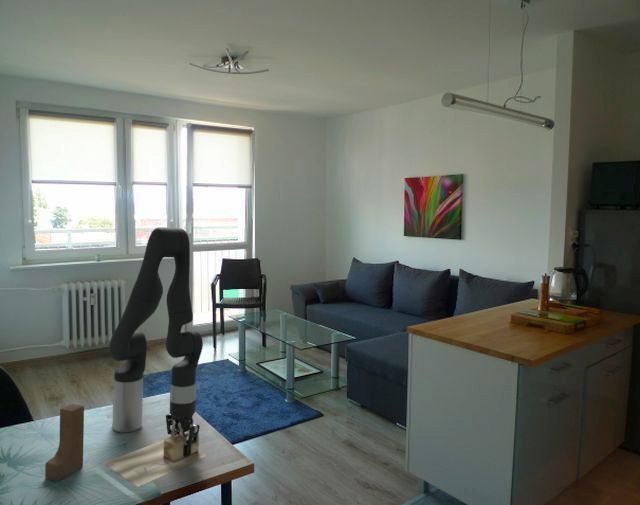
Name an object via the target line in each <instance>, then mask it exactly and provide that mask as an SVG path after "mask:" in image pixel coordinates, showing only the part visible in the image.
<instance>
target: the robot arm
mask: <svg viewBox="0 0 640 505" xmlns="http://www.w3.org/2000/svg"><path fill="white" fill-rule="evenodd" d="M190 246H191V245H190V237H189V235H188V233H187V231H186V230H184V229H183V228H180V227H178V228H177V227H164V226H163V227H161V226H160V227H155V228H154V229H153V230H152V231H151V233H150V235H149V237H148V240H147V244H146V248H145V252H144V256H143V260H142V262H141V265H140V269H139V273H138V275H137V277H136V280H135V283H134V285H133V287H132V291H131V292H130V296H129V298H128V301H127V304H126V306H125V309H124V311H123V313H122V316H121V318H120V320H119V322H118V324H117V326H116V328H115V330H114V332H113V334H112V336H111V338H110V341H109V345H108V352H109V356H110V358H111V359H112V360H114V361H117V362H123V361H126V362H124V363H123V364H122V365H121V366H119V367H118V368H117V369H115V371H114V374H113V377H114V380H113V399H112V427H113V428H112V430H113V431H115V430H116V431H115V432H117V431H118V432H117V433H131V432H135V431H137V430H140V429H141V428H142V426H143V407H144V406H143V402H144V400H143V398H144V397H143V396H144V393H143V392H144V373H145V370H146V364H147V362H146V360H147V348H148V347H147V346H148V343H147V338H146V335H145V333H144V332H143V331H142V330H137V329H138V328H139V327H140V326H142V325H143V324H144V323H145V322H146V321H147V320H148V319H150V317H152V315H153V314H155V312H156V310H157V309H158V307H159V305H160V302H161V300H162V297H163V293H164V289H163V288H164V287H163V283H162V280H161V278H160V275H159V274H160V273H159V269H160V266H161V262H162V260H163V259H164V258H173V259H174V264H175V270H174V274H173V276H172V277H173V278H172V280H171V282H170V285H169V288H168V290H167V294H166V308H167V314H168V325H167V326H168V327H167V334H166V340H165V341H166V342H165V347H166V352H167V353H168V355H169V356H171V357H172V358H173V359H174V358H175V359H177V358H182V357H183V359H182V360H181V361H178V362H177V363H175V364H173V366H172V367H171V381H170V382H171V385H170V391H169V392H170V394H169V413H168V414H165V422H166V431H167V432H166V433H167V435H170V437H172V436H175V435H177V434H180V433H181V437H182V438H183V441H184V449H183V456H184V457H187V456H189V455H190V454H191V444H193V443H196V442H197V438H198V435H199V432H200V428H201V427H200V425H199V424H195V423H194V419H193V416H194V414H195V413H196V406H197V403H196V402H197V401H196V400H197V385H196V384H197V382H196V378H197V377H196V376H197V368H198V364H199V360H200V358H201V354H202V351H203V348H204V347H203V345H204V342H203V341H204V340H203V337H202V335H201V334H200V333H199V332H198V331H195V330H192V331H190V330H189V331H185V332H182V329H183V326H186V325H188V324H190V323H192V322H193V319H194V314H193V308H192V300H191V292H190V265H191V264H190V263H191V262H190V260H191V259H190V255H191V254H190V251H191V250H190V249H191V248H190ZM187 431H189V432H188V433H184V432H187ZM187 436H188V437H189V438H188V440H187Z"/></svg>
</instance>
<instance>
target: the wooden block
mask: <svg viewBox="0 0 640 505" xmlns="http://www.w3.org/2000/svg"><path fill="white" fill-rule="evenodd" d="M84 423H85V406H84V405H80V404H76V403H70V404H68V405H66V406H63V407H61V408H60V409H59V443H58V448H57V451H56V452H55V454H54V456H53V457H52V458H50V459H49V460H47V461H46V462H45V469H44V470H45V474H44V475H45V479H47V480H51V481H54V482H59V481H61V480H62V479H65V477H67V476H69V475H70V474H72V473H74V472H76V471H77V470H79V469H81V468H82V467H83V466H84V439H85V438H84V437H85V436H84V435H85V434H84V433H85V430H84V429H85V428H84V427H85V424H84Z"/></svg>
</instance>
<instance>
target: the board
mask: <svg viewBox="0 0 640 505" xmlns="http://www.w3.org/2000/svg"><path fill="white" fill-rule="evenodd" d="M163 454H164V439H163V440H160V441H157V442H154V443H152V444H149V445H147V446H145V447H142V448H139V449H137V450H134V451H132V452H131V451H130V452H129V453H126V454H124V455H121V456H119V457H116V458H113V459H111V460H110V459H109V460H107V461H105V462H103V465H105V466H107V467H108V468H109V469H111V470H112V471H114V472H115V473H117V474H118V475H119V476H121V477H123V479H125V480H126V481H128V482H129V483H131V484H132V485H133V486H135V487H137V488H139V487H141V486H143V485H144V486H145V484H148V483H149V482H152V481H154V480H157V479H159V478H161V477H163V476H165V475H167V474H170V473H173V472H174V471H177V470H179V469H181V468H184V467H185V466H188V465H190V464H192V463H194V462H196V461H199V460H201V459H203V458H206V457H207V456H208V455H206V454H205V453H203V452H201V451H199V452H198V453H196V454H194V455H191V456H189V457H187V458H184V459H182V460H180V461H178V462H175V463H172V462H170V461H169V460H167V459H165V458H164V457H163Z"/></svg>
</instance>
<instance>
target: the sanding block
mask: <svg viewBox="0 0 640 505" xmlns="http://www.w3.org/2000/svg"><path fill="white" fill-rule="evenodd" d="M188 432H189V431H187V432H184V433H188ZM188 438H189V437H188V436H187V440H188ZM163 440H164V454H163V457H164V458H165V459H167V460H169V461H170V462H172V463H175V462H178V461H180V460H182V459H184V458H187V457H189V456H191V455H194V454H196V453H198V452H200V451H199V450H200V449H199V446H200V434H198V438H197V442H196V443H193V444H191V454H190V455H189V456H187V457H184V456H183V449H184V441H183V438H182V437H181V433H180V434H177V435H175V436H172V437H171V436H169V437H167V438H165V439H163Z"/></svg>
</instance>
